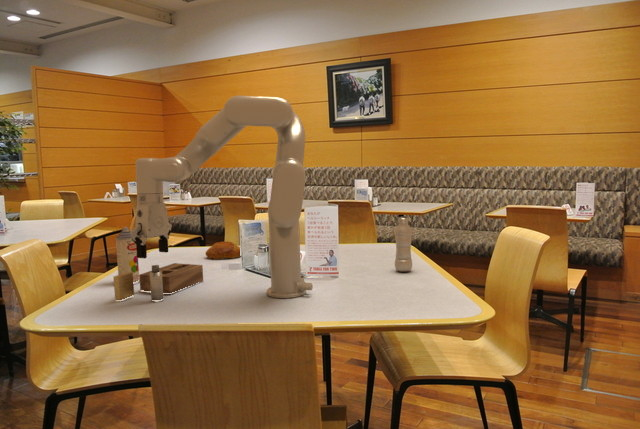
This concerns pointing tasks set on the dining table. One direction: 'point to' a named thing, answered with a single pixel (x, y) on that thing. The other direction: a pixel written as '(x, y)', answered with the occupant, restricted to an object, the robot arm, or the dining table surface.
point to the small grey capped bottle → (156, 283)
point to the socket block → (174, 277)
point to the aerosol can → (127, 254)
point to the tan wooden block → (123, 285)
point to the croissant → (223, 250)
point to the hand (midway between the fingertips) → (153, 254)
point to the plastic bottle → (403, 245)
